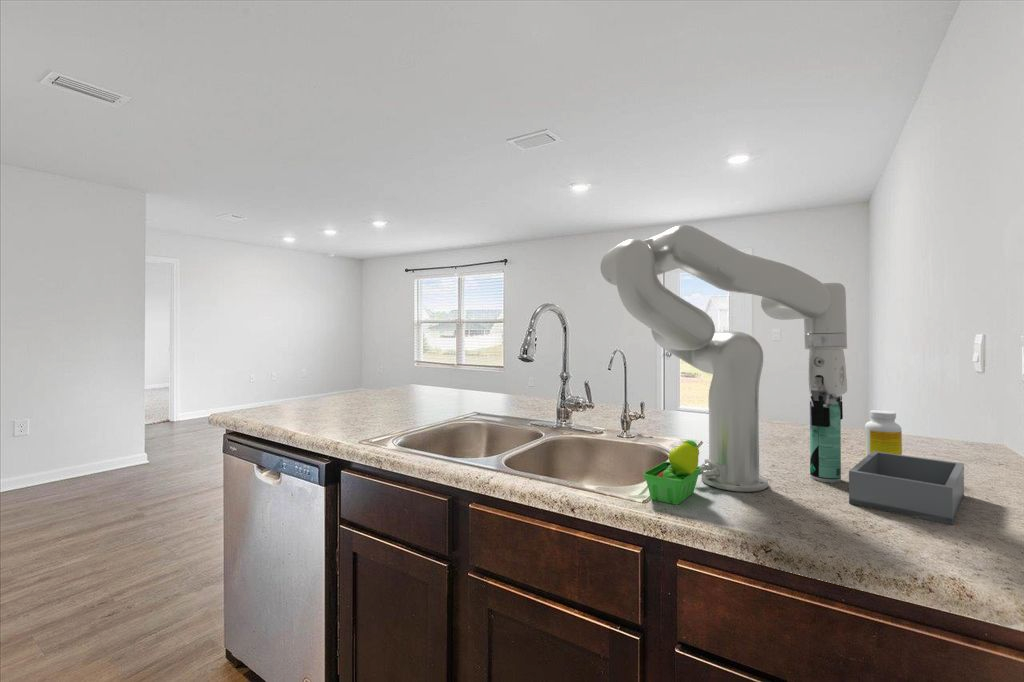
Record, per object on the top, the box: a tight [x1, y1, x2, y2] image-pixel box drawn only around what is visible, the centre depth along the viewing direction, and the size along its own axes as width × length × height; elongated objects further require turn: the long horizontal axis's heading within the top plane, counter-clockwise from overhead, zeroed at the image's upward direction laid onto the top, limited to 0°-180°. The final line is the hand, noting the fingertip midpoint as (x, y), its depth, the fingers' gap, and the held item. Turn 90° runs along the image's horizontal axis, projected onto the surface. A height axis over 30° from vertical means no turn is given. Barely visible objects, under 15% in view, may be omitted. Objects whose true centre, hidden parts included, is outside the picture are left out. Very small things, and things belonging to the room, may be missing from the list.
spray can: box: [809, 394, 842, 484], centre depth 102 cm, size 6×6×20 cm
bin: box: [848, 451, 965, 526], centre depth 90 cm, size 20×14×6 cm
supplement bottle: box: [864, 409, 903, 458], centre depth 110 cm, size 7×7×13 cm
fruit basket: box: [643, 439, 701, 506], centre depth 93 cm, size 11×9×11 cm
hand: (827, 422), depth 102 cm, fingers open, 9 cm apart
